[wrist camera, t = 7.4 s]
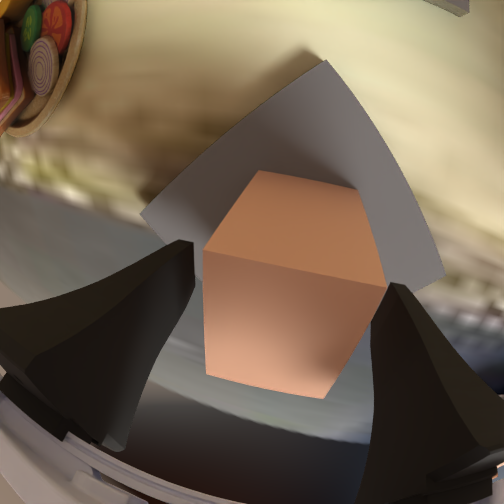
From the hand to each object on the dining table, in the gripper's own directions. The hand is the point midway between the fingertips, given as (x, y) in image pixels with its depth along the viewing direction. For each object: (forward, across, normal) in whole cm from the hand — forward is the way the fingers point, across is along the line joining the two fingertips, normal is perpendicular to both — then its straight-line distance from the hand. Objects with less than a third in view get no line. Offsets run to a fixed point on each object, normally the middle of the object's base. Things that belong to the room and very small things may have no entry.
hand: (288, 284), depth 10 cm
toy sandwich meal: (+4, +18, -10) cm, 21 cm away
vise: (+4, -2, -18) cm, 18 cm away
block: (+3, 0, 0) cm, 3 cm away
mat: (+4, 0, 0) cm, 4 cm away
